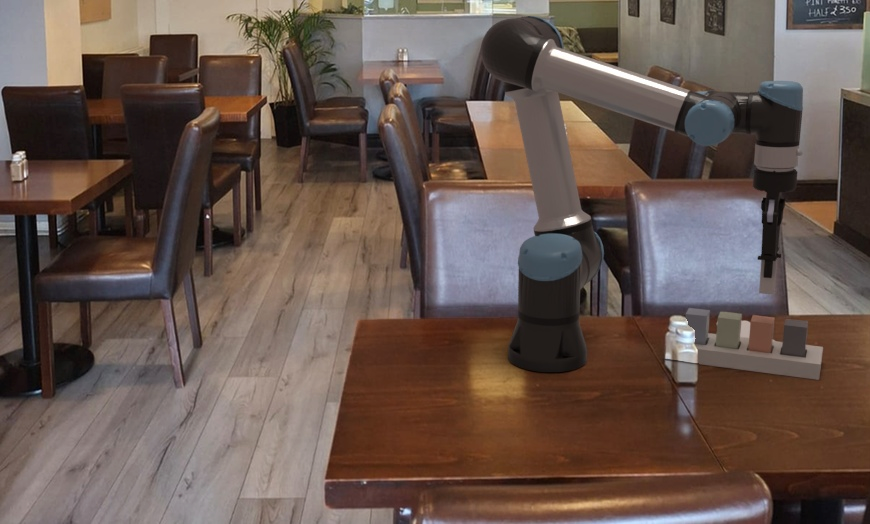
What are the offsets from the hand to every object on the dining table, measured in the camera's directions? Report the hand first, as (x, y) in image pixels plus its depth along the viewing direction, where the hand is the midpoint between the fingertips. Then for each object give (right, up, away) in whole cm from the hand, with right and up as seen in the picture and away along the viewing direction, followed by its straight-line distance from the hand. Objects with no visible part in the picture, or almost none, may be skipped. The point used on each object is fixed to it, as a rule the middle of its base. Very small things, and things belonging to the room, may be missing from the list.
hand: (767, 292), depth 194 cm
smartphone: (+2, -10, +20) cm, 22 cm away
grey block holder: (-3, -13, +5) cm, 14 cm away
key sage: (-6, -10, +5) cm, 13 cm away
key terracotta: (0, -11, +3) cm, 11 cm away
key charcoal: (+5, -11, +1) cm, 13 cm away
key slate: (-11, -10, +8) cm, 17 cm away
